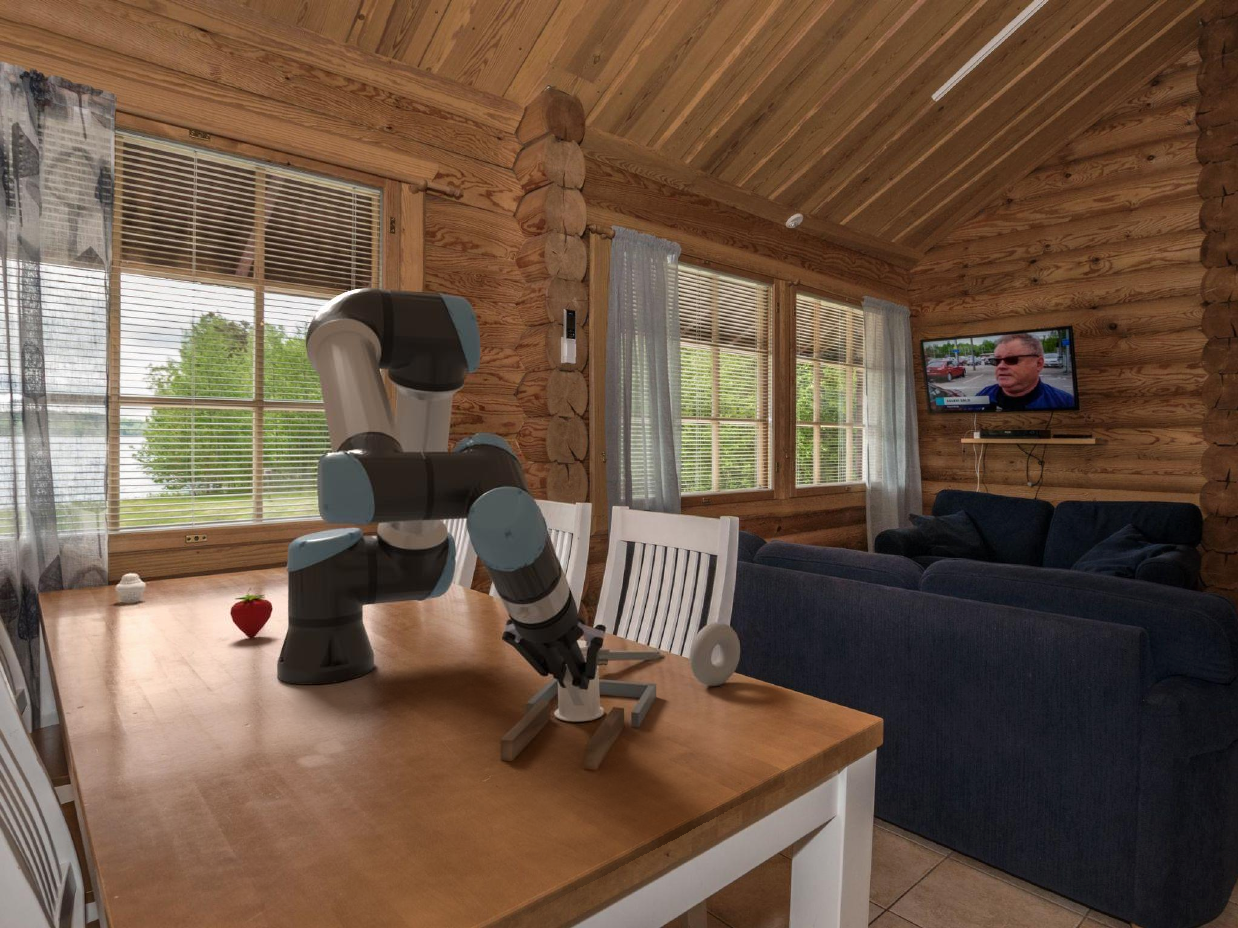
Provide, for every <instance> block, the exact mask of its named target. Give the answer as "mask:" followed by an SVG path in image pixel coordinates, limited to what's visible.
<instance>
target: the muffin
mask: <svg viewBox="0 0 1238 928" xmlns="http://www.w3.org/2000/svg"><path fill="white" fill-rule="evenodd" d="M146 588H147V584H146V583H145V582H144V581H142V579H141V578H140V576H139V574H137V573H131V572H129V573H126V574H124V575H122V577H121V580H120V581H119V583H118V584H116V586H115V588H114V589H115V591H116V595H117V596H118V598H119V599H120V601H121V603H123V604H134V603H139V602H140V601H141V598H142V597H143V594H144V593H145V591H146Z"/></svg>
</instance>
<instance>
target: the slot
mask: <svg viewBox="0 0 1238 928" xmlns="http://www.w3.org/2000/svg"><path fill="white" fill-rule="evenodd" d="M550 720H551V701H539V702H538V703H537V704H536V705H535V706H534V707H533V708H532V709H531V710H530V711H529V712H528V713H527V714H526V713H525V715H524V716H523V717H521V719H520V720H519V721H518V722H517V723H516V724H515V725H514V726H513V727H512V728H510V730H508V732H507V733H505V735H504V736H503V737H501V738H500V761H507V762H513V761H514V760H516V758H517V757H518V756H519V755H520V753H521V752H522V751H523V750H524V749H525V748H526V747H527V746H528V745H529V743H530V742H531V741H532V740H533V739H535V737H536V736H537V735H538V734H539V732H540V731H541V730H543V728H544V727H545V726H546V725H547V723H549V722H550ZM624 727H625V707H616V706H613V707H612V708H611V710H610V711H609V712H608V714H607V715H606V716H605V718H604V720H603V721H602V722H601V724H599V726H598V728H597V730H596V731H595V732H594V734H593V735H592V736H591V738H590V739H589V740H588V741H587V743H586V745H585V746H584V748H583V769H584V770H590V771H597V770H598V768H599V767H600V766H601V763H602V762H603V760H604V759H605V757H606V756H607V755H608V753H609V751H610V749H611V748H612V747H613V745H614V743H615V741H616V740H617V739H618V737H619V736H620V734H621V732H622V730H623V729H624Z"/></svg>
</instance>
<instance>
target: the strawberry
mask: <svg viewBox="0 0 1238 928" xmlns="http://www.w3.org/2000/svg"><path fill="white" fill-rule="evenodd" d="M251 589H252V588H251V587H250V588H249V589H248V591H247V592H246V593H247V594H246V595H245V596H242V597H236V598H234V600H241V601H237V602H235V603H234V604H233V605H232V606H231V608H230V616H231V617H230V618H231V619H232V623H233V624H234V625H235V626H236V627H237V628H238V629H239V630H240V631H241V632H243V634H244V635H245V636H246V637H247V638H249V639H253V638H255V637H256V636H257V635H258V634H259V632H260V631H261V630H262V629H263V628H264V627H265V626H266V623H267V622H268V621H269V619H270V618H271V616H272V612H273V605H272V602H271V601H269V600H267V599H265V598H266V597H265V594H259V595H256V594H251V595H250V594H249V593H250V591H251Z"/></svg>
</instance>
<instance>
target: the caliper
mask: <svg viewBox="0 0 1238 928" xmlns="http://www.w3.org/2000/svg"><path fill="white" fill-rule="evenodd" d="M660 658H665V654H662V653H661V652H660V651H659V650H610V648H605V647H601V648H600V649H599V658H598V665H597V666H608V662H610V661H654V660H659V659H660Z"/></svg>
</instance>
